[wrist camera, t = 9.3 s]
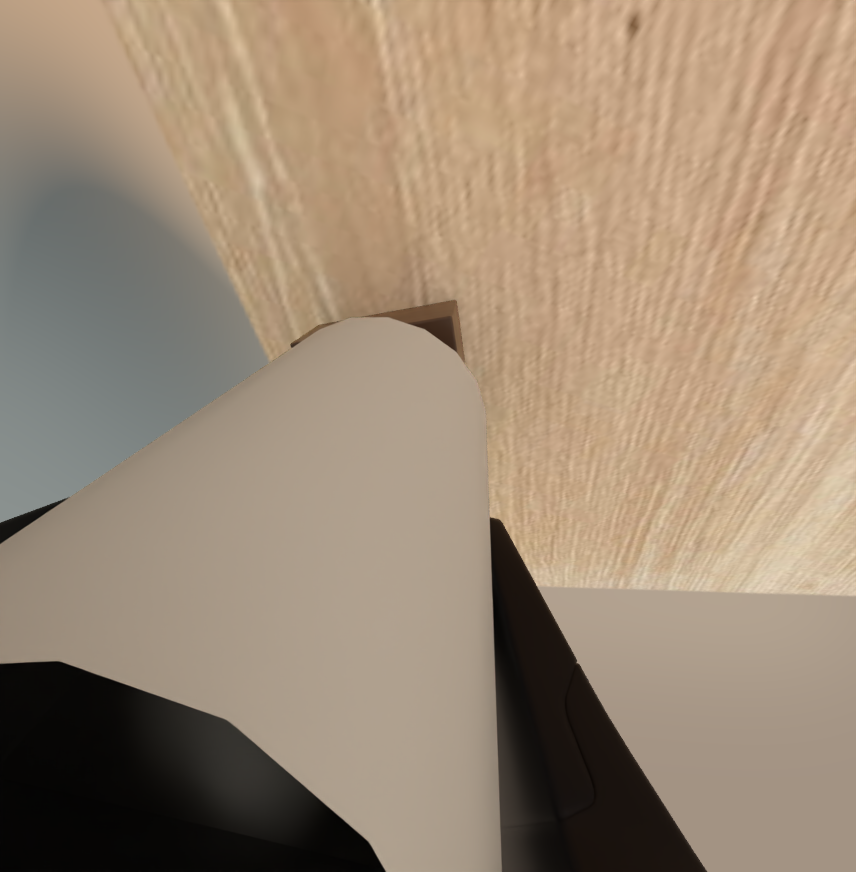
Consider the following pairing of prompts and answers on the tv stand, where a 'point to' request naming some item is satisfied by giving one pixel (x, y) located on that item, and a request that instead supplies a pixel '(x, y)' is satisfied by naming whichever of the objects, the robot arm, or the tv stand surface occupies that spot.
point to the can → (265, 632)
